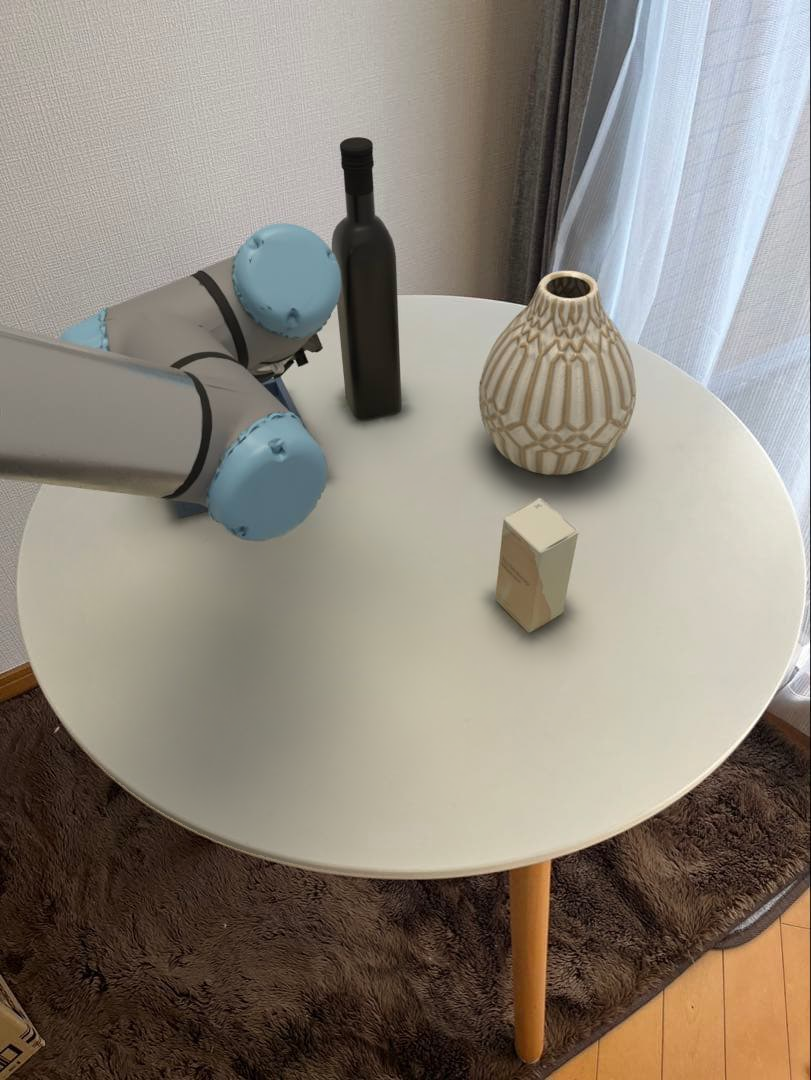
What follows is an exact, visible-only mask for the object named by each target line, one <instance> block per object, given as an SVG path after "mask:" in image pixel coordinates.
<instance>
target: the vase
mask: <svg viewBox="0 0 811 1080" xmlns="http://www.w3.org/2000/svg"><path fill="white" fill-rule="evenodd" d="M479 380H480V381H479V385H478V404H479V405H478V406H479V413H480V417H481V422H482V424H483V427H484V430H485V431H486V434H488V437H489V439H490V441H491V442H492V443H493V445H494V446H495V448H496V449H497V450H498V451H499V452H500V454H501V455H502V456H503V457H504V458H506V459H507V460H509V461H510V462H512V463H513V464H515V465H516V466H518V467H519V468H522V469H524V470H527V471H529V472H533V473H537V474H540V475H546V476H547V475H549V476H560V475H561V476H563V475H568V474H569V475H570V474H574V473H577V472H581V471H584V470H586V469H588V468H591V467H593V466H595V465H596V464H597V463H599V462H601V460H603V459H604V458H605V457H607V456H608V455H609V454H610V453H611V452H612V451H613V450H614V449H615V447H616V446H617V445H618V444H619V442H620V441H621V440H622V438H623V437H624V435H625V433H626V431H627V430H628V427H629V425H630V423H631V419H632V417H633V414H634V410H635V405H636V402H637V401H636V400H637V398H636V397H637V384H636V377H635V369H634V365H633V360H632V357H631V354H630V351H629V347H628V346H627V343H626V342H625V340H624V338H623V336H622V335H621V332H620V330H619V329H618V327H617V326H616V325H615V323H614V322H613V320H612V319H611V317H610V316H609V315H608V313H607V312H606V310H605V308H604V305H603V302H602V298H601V292H600V287H599V286H598V283H597V281H596V280H595V279H594V278H593V277H592V276H590V275H588V274H586V273H584V272H580V271H576V270H557V271H554V272H551V273H549V274H547V275H544V277H543V278H542V279H541V280H540V281H539V283H538V285H537V287H536V289H535V292H534V294H533V296H532V298H531V299H530V302H529V303H528V305H527V306H526V307H525V308H523V309H522V310H521V311H520V312H519V313H518V314H517V315H515V316H514V318H513V319H512V320H511V321H510V322H509V323H508V325H506V327H505V328H504V329H503V330H502V332H501V333H500V335H499V336H498V337H497V338H496V340H495V341H494V344H493V345H492V347H491V349H490V351H489V354H488V356H487V358H486V360H485V362H484V365H483V369H482V372H481V375H480V379H479Z"/></svg>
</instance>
